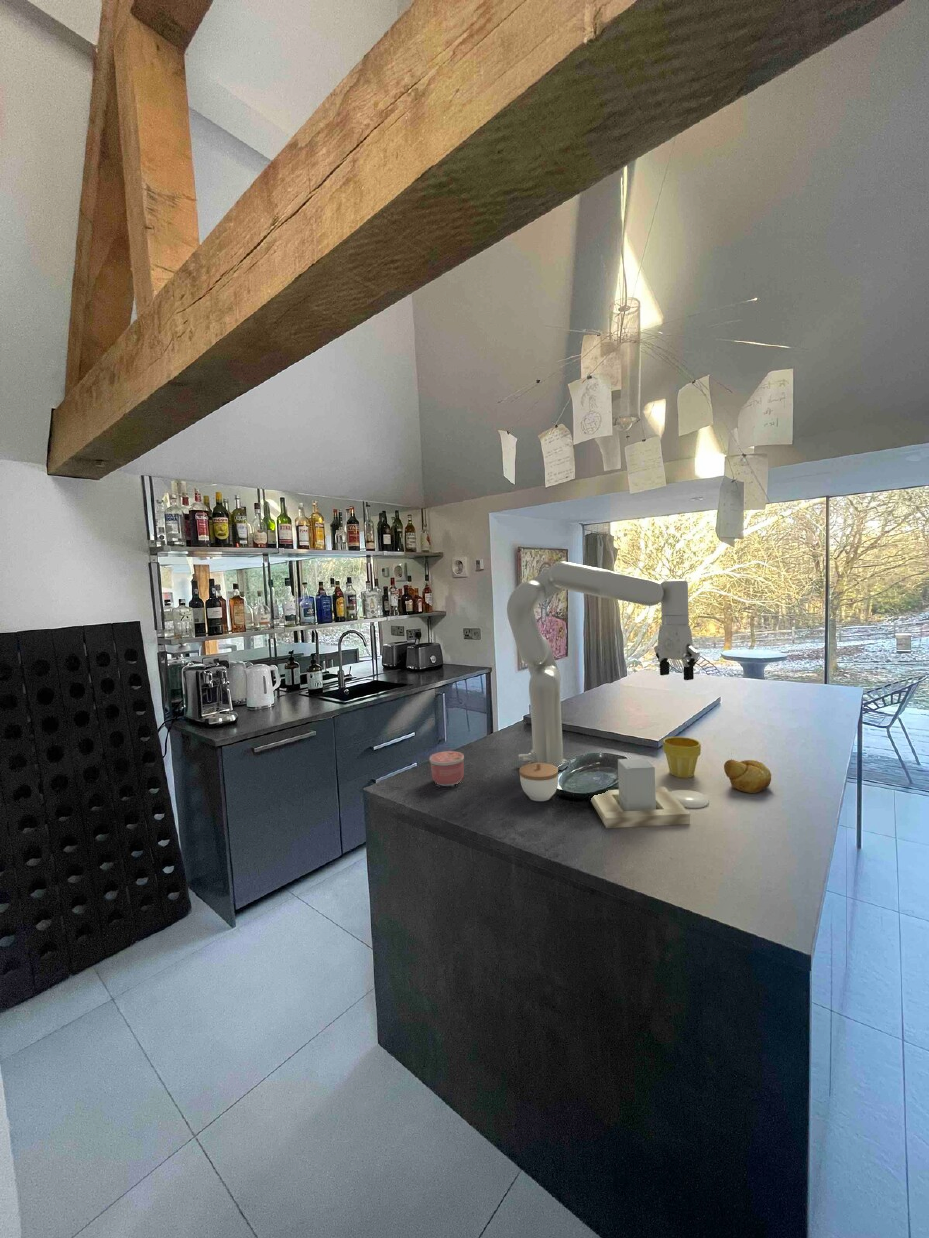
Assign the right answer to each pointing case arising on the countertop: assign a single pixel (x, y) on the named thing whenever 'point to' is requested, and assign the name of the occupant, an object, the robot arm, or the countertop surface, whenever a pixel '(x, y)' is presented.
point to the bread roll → (747, 775)
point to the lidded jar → (539, 780)
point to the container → (447, 767)
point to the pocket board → (664, 814)
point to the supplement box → (636, 784)
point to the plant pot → (681, 755)
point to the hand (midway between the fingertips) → (676, 677)
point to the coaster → (690, 798)
